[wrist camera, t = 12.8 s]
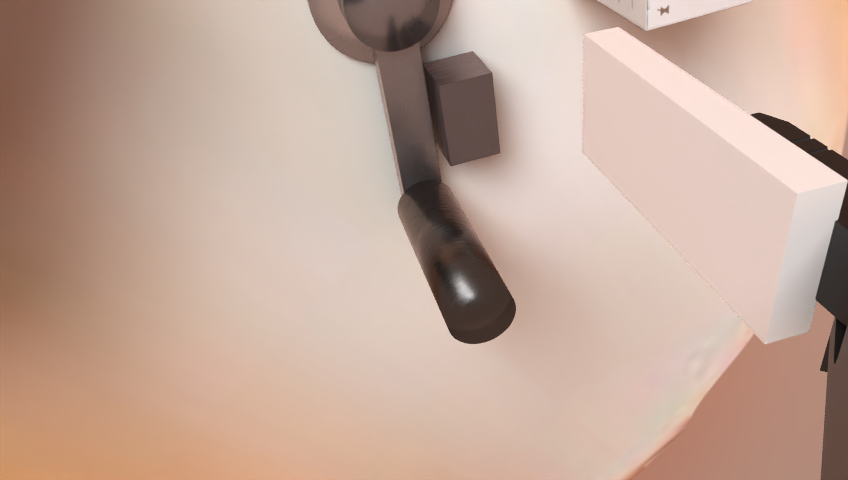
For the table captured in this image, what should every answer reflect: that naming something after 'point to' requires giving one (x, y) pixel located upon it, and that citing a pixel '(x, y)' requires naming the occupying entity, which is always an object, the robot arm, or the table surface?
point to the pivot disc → (343, 38)
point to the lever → (418, 163)
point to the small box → (666, 10)
